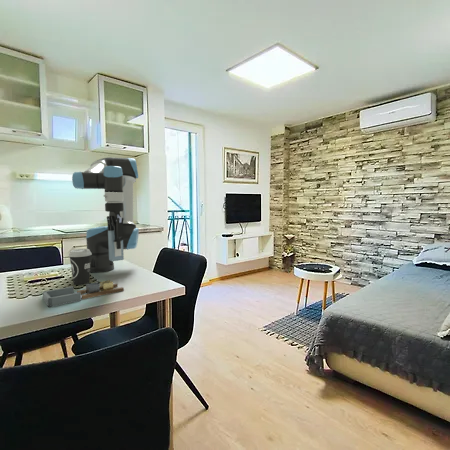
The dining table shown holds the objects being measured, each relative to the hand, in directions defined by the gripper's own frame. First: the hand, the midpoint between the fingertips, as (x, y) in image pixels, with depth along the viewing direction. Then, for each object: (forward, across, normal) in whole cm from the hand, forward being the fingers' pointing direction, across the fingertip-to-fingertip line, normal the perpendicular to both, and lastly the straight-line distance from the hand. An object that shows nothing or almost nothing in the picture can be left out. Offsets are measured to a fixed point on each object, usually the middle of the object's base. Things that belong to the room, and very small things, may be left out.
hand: (116, 255), depth 130 cm
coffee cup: (+14, -13, -11) cm, 22 cm away
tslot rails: (+13, +7, -9) cm, 17 cm away
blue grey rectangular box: (+2, 0, 0) cm, 2 cm away
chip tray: (+13, +7, -24) cm, 28 cm away
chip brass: (+13, +7, -7) cm, 16 cm away
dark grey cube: (+13, +7, -12) cm, 19 cm away
